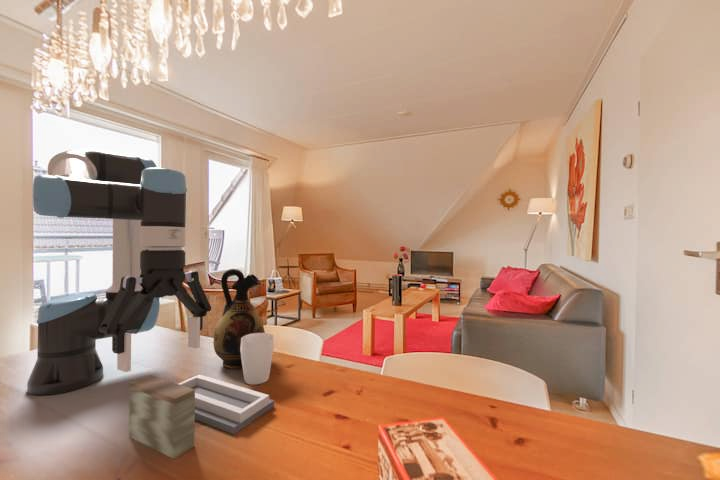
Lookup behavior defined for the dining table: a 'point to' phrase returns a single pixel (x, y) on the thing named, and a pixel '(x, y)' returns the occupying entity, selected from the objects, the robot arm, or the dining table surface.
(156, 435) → the beige textured block
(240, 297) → the ceramic jug
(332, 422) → the dining table surface
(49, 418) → the dining table surface
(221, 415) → the track base
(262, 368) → the cup
